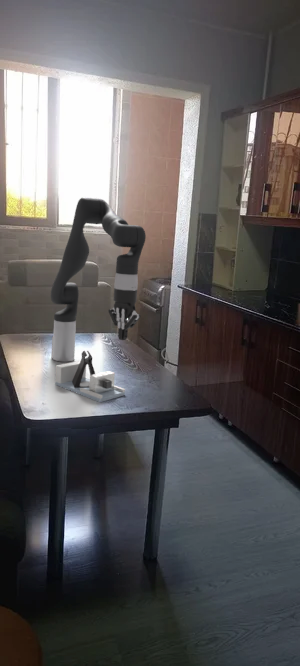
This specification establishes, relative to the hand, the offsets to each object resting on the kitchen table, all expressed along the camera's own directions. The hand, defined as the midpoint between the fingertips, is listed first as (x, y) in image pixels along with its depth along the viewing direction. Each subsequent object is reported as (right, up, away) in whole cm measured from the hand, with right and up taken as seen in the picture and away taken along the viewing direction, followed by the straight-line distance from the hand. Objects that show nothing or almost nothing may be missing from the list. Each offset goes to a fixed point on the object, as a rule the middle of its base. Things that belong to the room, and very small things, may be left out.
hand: (122, 339), depth 168 cm
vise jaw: (-7, -18, +9) cm, 21 cm away
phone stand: (-14, -17, +15) cm, 26 cm away
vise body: (-13, -18, +14) cm, 26 cm away
